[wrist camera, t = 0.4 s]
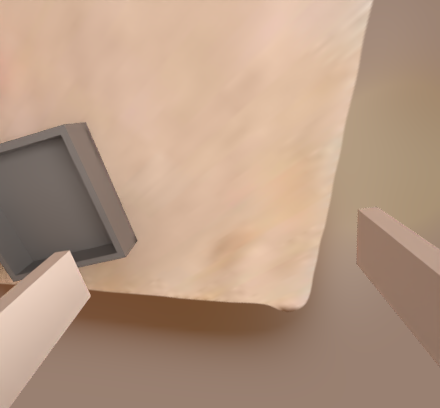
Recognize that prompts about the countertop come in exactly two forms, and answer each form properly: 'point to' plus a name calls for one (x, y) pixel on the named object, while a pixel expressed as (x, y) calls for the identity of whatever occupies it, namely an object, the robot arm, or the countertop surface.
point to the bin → (58, 202)
